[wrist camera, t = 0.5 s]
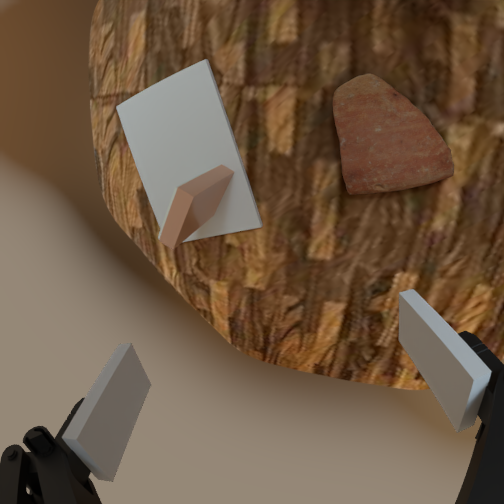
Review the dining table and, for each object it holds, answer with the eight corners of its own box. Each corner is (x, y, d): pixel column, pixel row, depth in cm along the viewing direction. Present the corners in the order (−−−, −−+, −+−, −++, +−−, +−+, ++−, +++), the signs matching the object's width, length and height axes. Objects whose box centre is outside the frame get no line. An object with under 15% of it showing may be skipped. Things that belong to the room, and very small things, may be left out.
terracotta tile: (234, 171, 44) (193, 196, 34) (213, 215, 48) (172, 250, 38) (219, 163, 44) (175, 185, 34) (200, 207, 48) (157, 239, 38)
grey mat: (119, 106, 45) (116, 106, 45) (207, 59, 38) (205, 59, 37) (169, 243, 55) (167, 245, 54) (262, 225, 47) (261, 227, 46)
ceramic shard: (437, 63, 25) (458, 183, 32) (418, 63, 30) (440, 166, 37) (315, 88, 30) (351, 208, 37) (313, 85, 35) (345, 188, 42)
